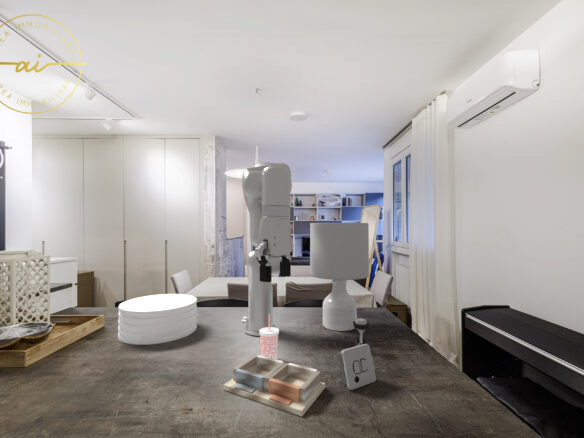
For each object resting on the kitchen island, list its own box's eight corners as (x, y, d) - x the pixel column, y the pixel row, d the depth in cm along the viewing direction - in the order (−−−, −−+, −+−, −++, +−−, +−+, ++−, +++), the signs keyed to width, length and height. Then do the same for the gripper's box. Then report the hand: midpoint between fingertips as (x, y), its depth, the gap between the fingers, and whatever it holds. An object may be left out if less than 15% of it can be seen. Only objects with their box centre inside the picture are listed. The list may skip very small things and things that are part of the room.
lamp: (360, 316, 135) (359, 223, 136) (377, 335, 111) (376, 222, 112) (307, 316, 134) (307, 223, 135) (313, 336, 110) (313, 222, 111)
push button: (370, 356, 93) (369, 324, 93) (352, 354, 94) (352, 323, 95) (369, 347, 100) (369, 317, 100) (353, 346, 101) (353, 316, 101)
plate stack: (205, 334, 112) (206, 304, 113) (121, 351, 97) (121, 316, 97) (186, 316, 135) (186, 291, 136) (115, 327, 120) (115, 299, 120)
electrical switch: (349, 392, 73) (347, 352, 74) (336, 384, 77) (334, 347, 78) (376, 382, 78) (374, 345, 79) (362, 375, 82) (360, 340, 83)
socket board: (223, 389, 74) (223, 372, 74) (253, 367, 85) (254, 353, 85) (302, 416, 63) (302, 396, 63) (325, 387, 75) (325, 370, 75)
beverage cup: (267, 354, 95) (267, 309, 95) (283, 358, 91) (283, 313, 92) (254, 361, 90) (255, 314, 90) (270, 366, 86) (270, 318, 86)
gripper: (280, 215, 88) (280, 273, 87) (244, 212, 72) (244, 282, 72) (303, 214, 84) (303, 275, 83) (270, 211, 69) (270, 285, 68)
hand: (275, 278), depth 78 cm, fingers open, 9 cm apart
